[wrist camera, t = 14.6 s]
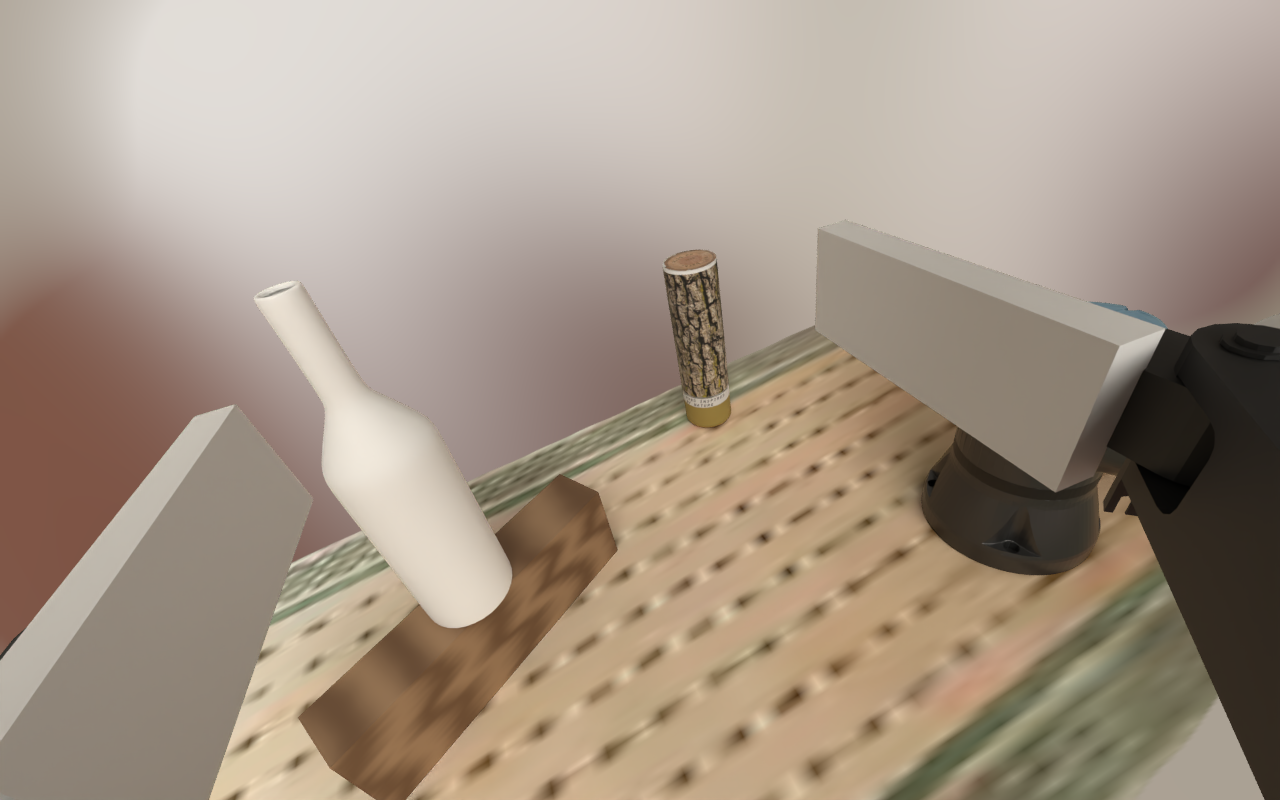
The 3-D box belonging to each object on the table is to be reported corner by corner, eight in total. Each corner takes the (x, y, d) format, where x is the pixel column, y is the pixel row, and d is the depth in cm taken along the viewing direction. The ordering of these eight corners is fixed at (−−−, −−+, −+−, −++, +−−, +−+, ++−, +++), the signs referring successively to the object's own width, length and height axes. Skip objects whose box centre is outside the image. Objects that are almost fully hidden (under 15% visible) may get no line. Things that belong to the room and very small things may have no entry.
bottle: (445, 555, 50) (259, 274, 32) (521, 547, 49) (372, 253, 31) (414, 633, 43) (160, 332, 26) (501, 625, 42) (299, 308, 25)
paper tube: (739, 419, 74) (726, 259, 60) (699, 435, 73) (675, 275, 58) (718, 397, 79) (701, 245, 65) (680, 412, 78) (654, 260, 64)
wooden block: (581, 530, 62) (559, 474, 56) (617, 550, 59) (598, 492, 53) (361, 764, 45) (297, 717, 39) (394, 812, 41) (329, 768, 35)
